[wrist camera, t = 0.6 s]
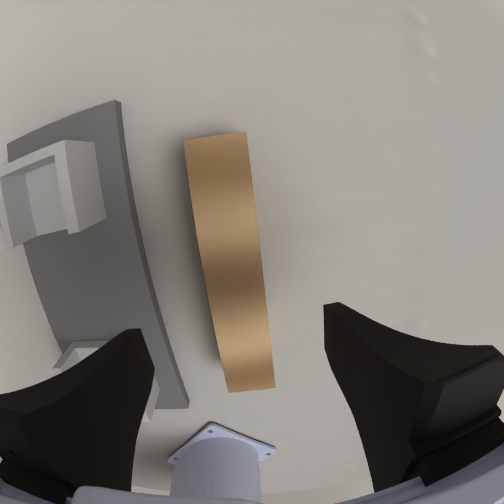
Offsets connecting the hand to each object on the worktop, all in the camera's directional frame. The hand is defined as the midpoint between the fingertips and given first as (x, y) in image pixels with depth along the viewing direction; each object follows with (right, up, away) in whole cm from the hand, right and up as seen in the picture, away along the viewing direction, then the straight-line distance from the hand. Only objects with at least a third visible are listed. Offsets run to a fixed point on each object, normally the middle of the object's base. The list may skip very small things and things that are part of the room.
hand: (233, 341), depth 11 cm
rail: (0, +3, +9) cm, 10 cm away
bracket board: (-11, +1, +9) cm, 14 cm away
